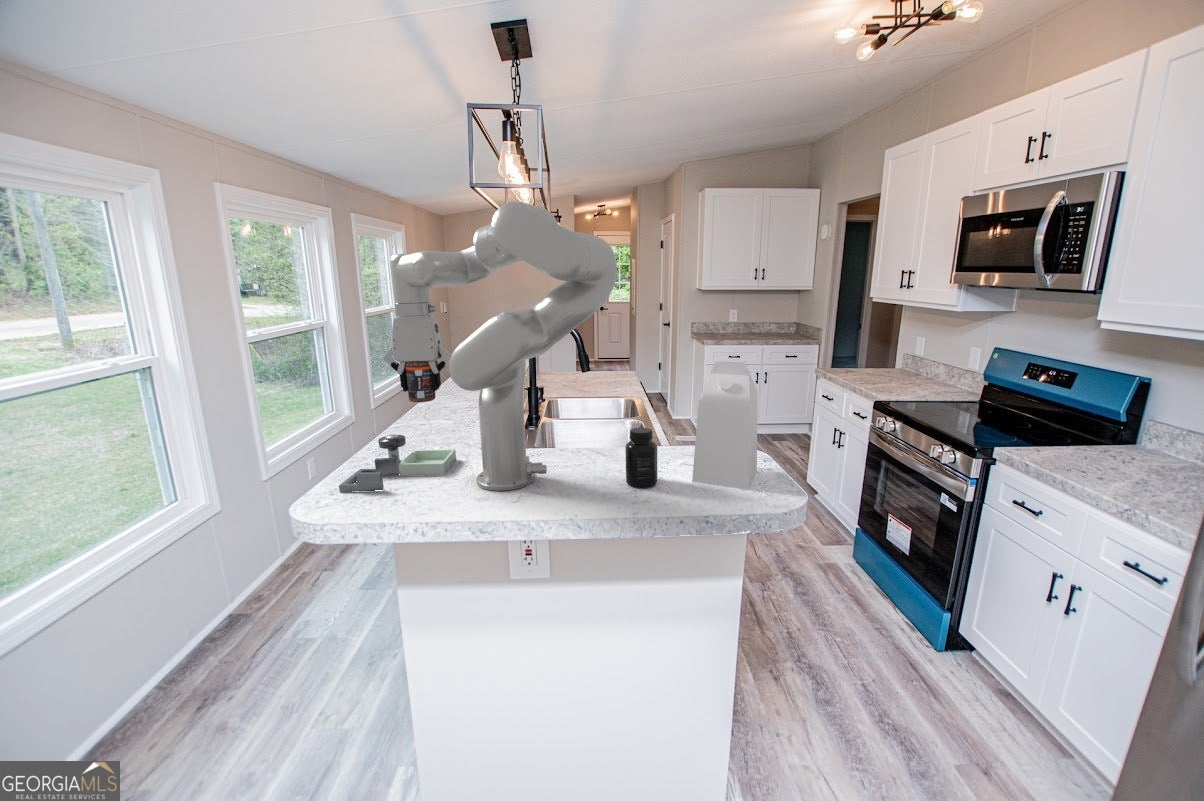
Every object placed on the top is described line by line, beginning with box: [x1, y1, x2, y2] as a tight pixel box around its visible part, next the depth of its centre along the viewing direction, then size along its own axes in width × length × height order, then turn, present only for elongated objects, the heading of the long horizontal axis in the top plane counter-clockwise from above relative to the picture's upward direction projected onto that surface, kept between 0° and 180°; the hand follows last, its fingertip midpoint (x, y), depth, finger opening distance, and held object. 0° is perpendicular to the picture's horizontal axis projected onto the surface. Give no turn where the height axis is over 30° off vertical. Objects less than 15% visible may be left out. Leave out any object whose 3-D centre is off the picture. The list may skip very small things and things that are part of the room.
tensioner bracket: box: [338, 457, 400, 493], centre depth 112 cm, size 9×10×4 cm
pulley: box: [377, 433, 407, 464], centre depth 122 cm, size 6×6×8 cm
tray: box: [399, 449, 457, 477], centre depth 121 cm, size 10×10×3 cm
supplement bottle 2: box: [625, 427, 658, 489], centre depth 108 cm, size 7×7×12 cm
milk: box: [691, 359, 758, 491], centre depth 110 cm, size 12×12×26 cm
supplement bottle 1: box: [406, 361, 437, 403], centre depth 116 cm, size 6×6×11 cm
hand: (421, 389), depth 117 cm, fingers closed on supplement bottle 1, 6 cm apart
